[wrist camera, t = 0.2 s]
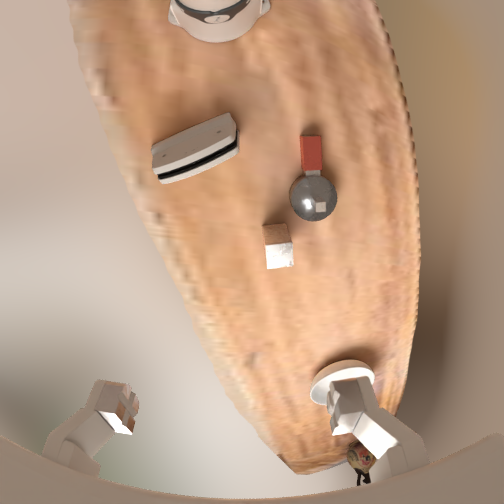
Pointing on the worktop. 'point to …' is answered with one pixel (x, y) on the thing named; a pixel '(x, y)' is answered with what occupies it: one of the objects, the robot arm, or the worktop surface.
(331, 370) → the serving bowl
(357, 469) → the ceramic jug
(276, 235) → the grey block
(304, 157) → the grey dome with handle
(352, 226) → the worktop surface
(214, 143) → the grey black slotted block
